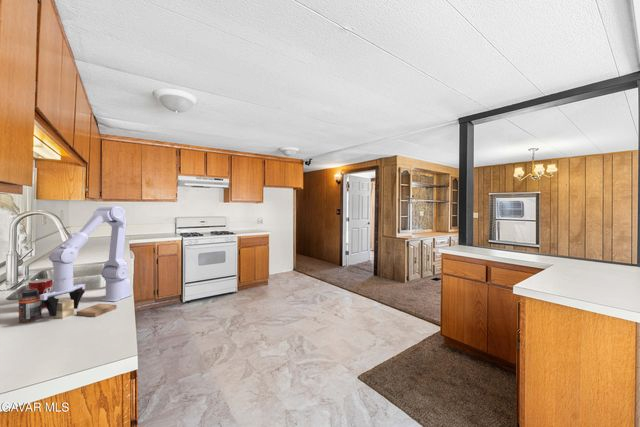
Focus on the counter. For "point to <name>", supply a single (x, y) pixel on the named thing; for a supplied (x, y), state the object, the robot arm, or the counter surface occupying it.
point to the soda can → (41, 287)
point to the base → (96, 310)
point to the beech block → (65, 308)
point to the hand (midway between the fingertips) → (64, 312)
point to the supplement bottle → (30, 306)
